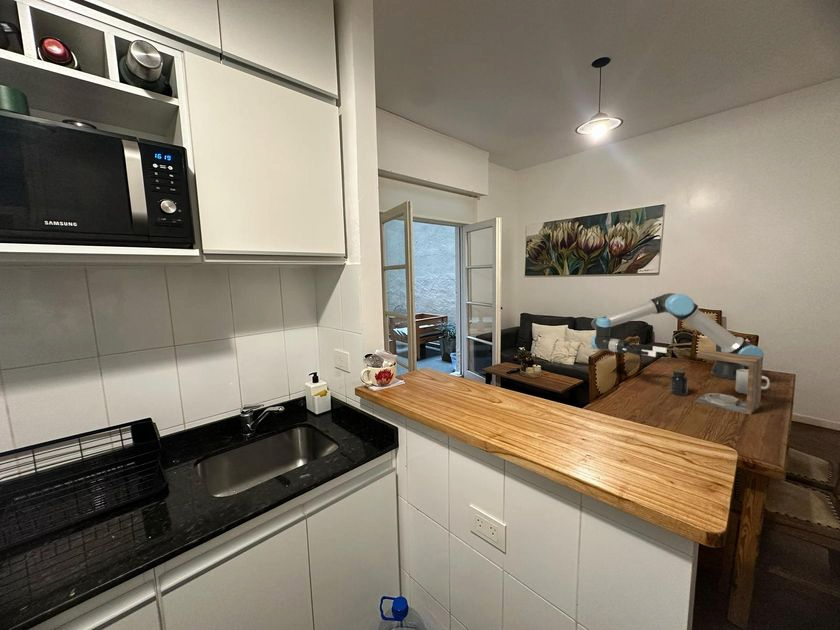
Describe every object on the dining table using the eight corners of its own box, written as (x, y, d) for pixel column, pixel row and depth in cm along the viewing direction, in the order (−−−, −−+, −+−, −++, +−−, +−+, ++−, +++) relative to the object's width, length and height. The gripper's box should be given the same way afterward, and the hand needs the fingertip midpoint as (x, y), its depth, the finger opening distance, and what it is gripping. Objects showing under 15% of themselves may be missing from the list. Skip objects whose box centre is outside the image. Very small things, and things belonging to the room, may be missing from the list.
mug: (735, 392, 167) (736, 371, 165) (735, 388, 173) (736, 368, 171) (769, 397, 158) (770, 375, 157) (768, 393, 164) (769, 371, 163)
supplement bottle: (681, 391, 172) (681, 369, 171) (690, 396, 165) (691, 373, 164) (667, 391, 173) (667, 369, 171) (676, 396, 166) (676, 373, 165)
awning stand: (705, 395, 165) (707, 350, 162) (760, 407, 148) (762, 356, 146) (695, 401, 158) (696, 354, 155) (750, 414, 141) (753, 361, 139)
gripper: (629, 349, 199) (670, 355, 181) (608, 355, 185) (650, 363, 167) (629, 337, 198) (671, 342, 180) (608, 342, 184) (651, 348, 166)
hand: (661, 352), depth 174 cm, fingers open, 13 cm apart
